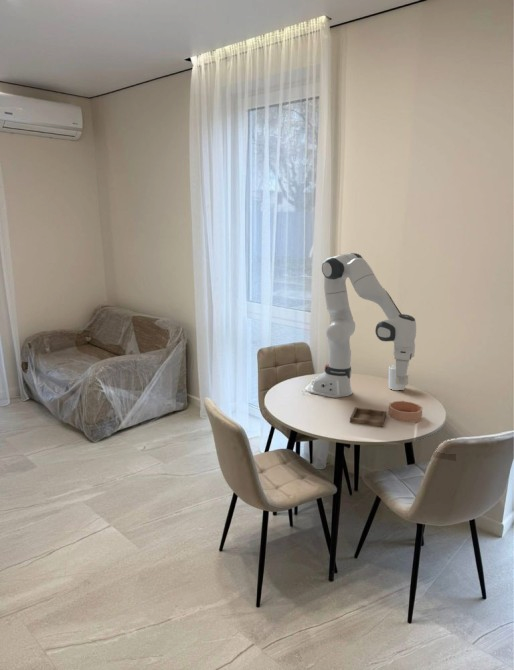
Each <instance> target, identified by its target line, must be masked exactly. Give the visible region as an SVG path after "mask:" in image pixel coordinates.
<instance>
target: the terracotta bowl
mask: <svg viewBox="0 0 514 670" xmlns="http://www.w3.org/2000/svg"><path fill="white" fill-rule="evenodd" d="M387 410H388V411H387V415H388V416H389V417H390V418H391V419H395V420H397V421H401V422H415V424H418V423H420V422H422V417H423V406H421V405H420V404H419V403H416V402H412V401H407V400H406V401H405V400H400V401H399V400H397V401H396V400H395V401H392V402H389V403H388V409H387Z"/></svg>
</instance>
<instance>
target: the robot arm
mask: <svg viewBox="0 0 514 670" xmlns="http://www.w3.org/2000/svg"><path fill="white" fill-rule="evenodd" d="M321 272H322V274H323V289H324V298H325V303H326V305H325V306H326V310H327V312H328V314H329V315H330V319H331V323H330V324H329V326H328V327H327V330H326V337H327V343H328V351H329V352H328V353H329V356H328V363H326V364H325V366H324V372H322V373H320V374H319V375H317V376H316V377H315V378H314V379H313V382H312V383H313V384H312V385H313V388H312V390H309V389H311V388H310V386H309V387H308V390H309V391H308V392H309V393H310V394H315V395H318V396H319V395H320V396H324V397H329V398H334V399H336V398H342V397H348V396H351V395H352V393H353V390H352V386H351V376H352V366H351V360H352V359H351V358H352V350H351V344H350V343H351V342H350V338H351V336H353V335H354V333H355V330H356V323H355V321H354V316H353V313H352V311H351V308H350V303H349V297H348V296H349V295H348V291H347V290H348V289H347V284H346V283H347V282H346V280H347V278H348V279H349V281H350V282H351V285H352V287H353V290H354V291H355V293H356V294H357V295H358V297H360V298H361V299H363V300H366V301H371V302H373V303H374V304H377V305H378V306H379V307H380V308H381V310H382V312H383V313H384V314H385V316H386V318H387V319H385V320H381V321H378V323H377V324H376V326H375V330H374V331H375V335H376V337H377V339H378V340H380V341H382V342H393V356H394V360H395V365H396V376H397V377H399V383H400V384H403V382H404V378H405V375H406V372H407V373H408V370H407V369H408V368H409V364H410V361H411V360H412V358H413V357H415V351H416V342H415V339H416V336H417V322H416V318H415V317H413V316H412V315H409V314H405V313H403V314H402V312H401V311H400V310H399V308H398V306H397V305H396V304H395V301H394V300H393V298H392V297H391V295H390V294H389V293H388V291H387V290H386V289H385V288H384V287H383V286H382V285H381V283H380V281H379V280H378V278H377V276H376V275H375V272H374V270H373V269H372V268H371V266H370V265H369V264H368V262H367V261H366V260H365V259H364V257H363V256H362V255H361V254H359V253H355V252H351V253H343V254H339V255H336V256H335V255H334V256H332V257H331V256H330V257H328V258H326V259H325V260H324V261H323V262H322V263H321Z"/></svg>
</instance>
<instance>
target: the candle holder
mask: <svg viewBox="0 0 514 670" xmlns="http://www.w3.org/2000/svg"><path fill="white" fill-rule="evenodd" d="M406 375H408V369H407V372H406ZM389 388H390V389H392V390H391V391H393V390H403V391H405V389H406V385H397V384H396V364H390V365H388V389H389ZM390 389H389V390H390Z"/></svg>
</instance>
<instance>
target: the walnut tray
mask: <svg viewBox="0 0 514 670" xmlns="http://www.w3.org/2000/svg"><path fill="white" fill-rule="evenodd" d="M386 417H387V411H385V410H378V409H372V408H364V407H354V409H353V411H352V414H351V415H350V417H349V423H351V424H359V425H364V426H371V427H377V428H383V427H384V424H385V420H386Z"/></svg>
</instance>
